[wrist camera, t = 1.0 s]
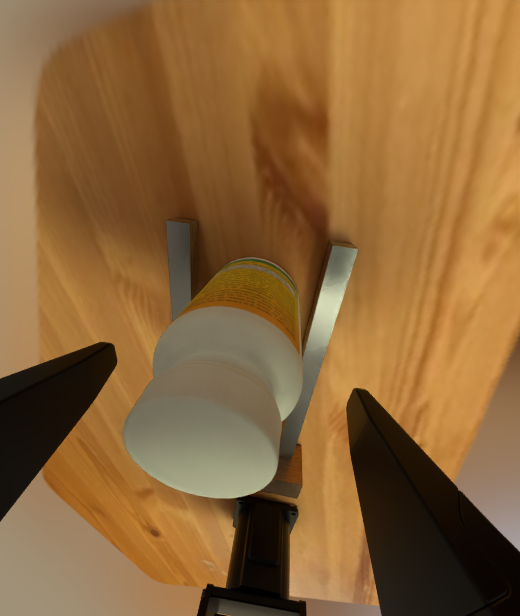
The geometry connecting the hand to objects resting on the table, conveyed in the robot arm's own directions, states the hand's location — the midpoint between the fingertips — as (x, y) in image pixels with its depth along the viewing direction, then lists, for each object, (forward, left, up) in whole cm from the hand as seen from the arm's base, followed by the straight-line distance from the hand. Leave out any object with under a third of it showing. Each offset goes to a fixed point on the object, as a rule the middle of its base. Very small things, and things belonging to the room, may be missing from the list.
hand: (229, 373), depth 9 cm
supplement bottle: (0, 0, -7) cm, 7 cm away
